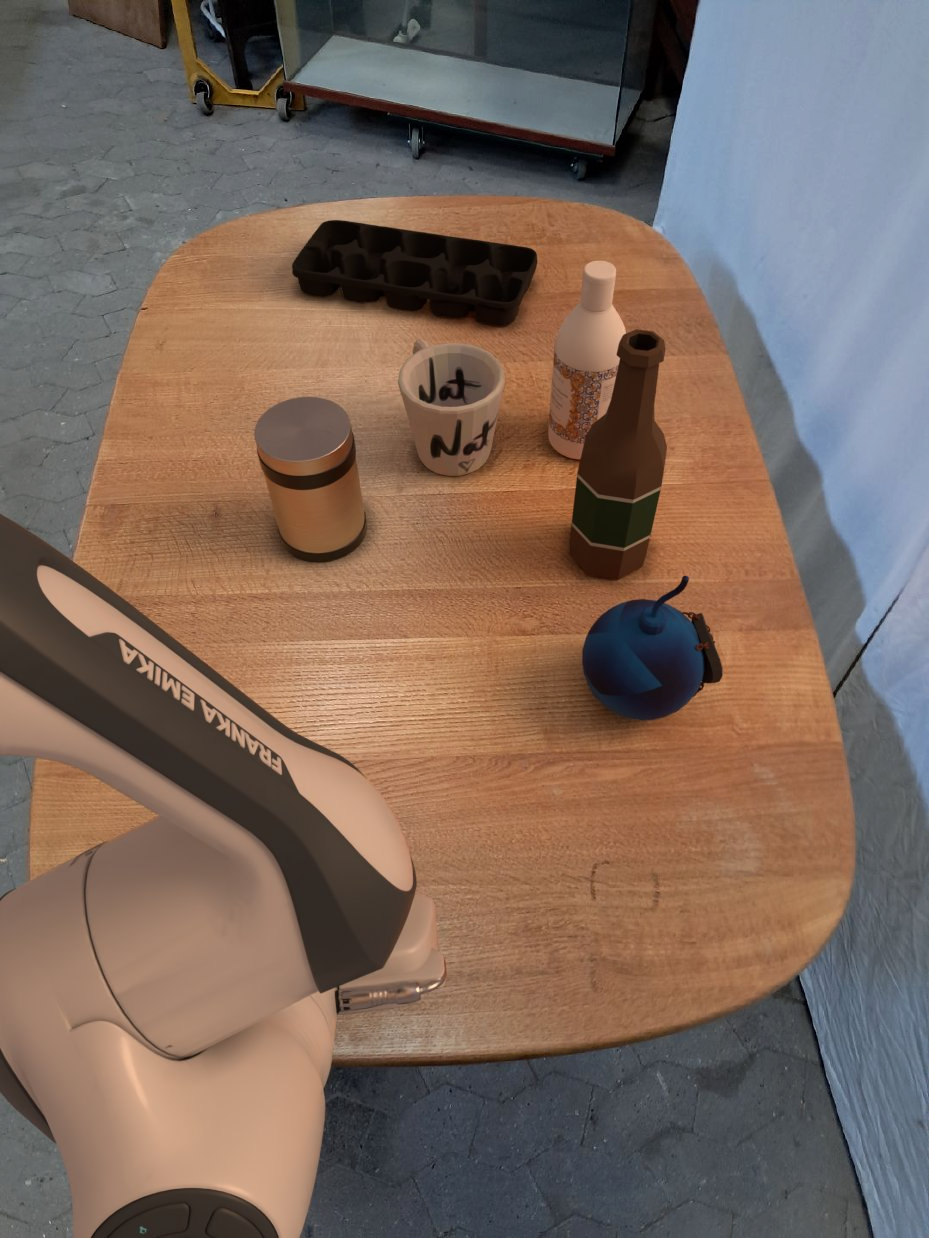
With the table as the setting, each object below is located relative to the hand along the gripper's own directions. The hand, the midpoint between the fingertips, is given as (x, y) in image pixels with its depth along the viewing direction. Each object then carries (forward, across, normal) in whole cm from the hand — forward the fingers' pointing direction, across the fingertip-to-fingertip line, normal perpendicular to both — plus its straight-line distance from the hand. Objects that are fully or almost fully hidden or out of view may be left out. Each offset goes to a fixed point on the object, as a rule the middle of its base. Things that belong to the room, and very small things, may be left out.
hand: (286, 899), depth 62 cm
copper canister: (+31, -2, -24) cm, 39 cm away
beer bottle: (+27, -30, -19) cm, 44 cm away
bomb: (+16, -29, -8) cm, 34 cm away
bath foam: (+38, -30, -30) cm, 57 cm away
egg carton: (+60, -15, -52) cm, 80 cm away
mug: (+40, -16, -32) cm, 53 cm away
